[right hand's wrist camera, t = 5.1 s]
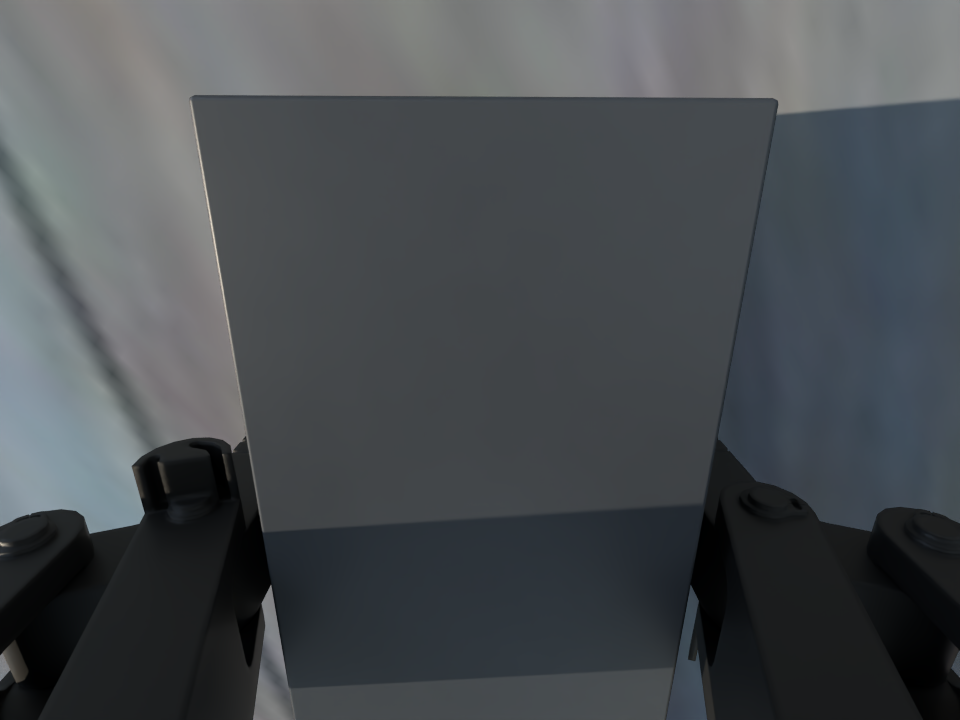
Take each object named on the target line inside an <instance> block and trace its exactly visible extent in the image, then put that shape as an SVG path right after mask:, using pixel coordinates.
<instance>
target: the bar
mask: <svg viewBox="0 0 960 720" xmlns="http://www.w3.org/2000/svg"><path fill="white" fill-rule="evenodd" d="M189 103H190V109H191V115H192V121H193V127H194V132H195V138H196V144H197V150H198V156H199V162H200V168H201V174H202V180H203V185H204V191H205V197H206V203H207V209H208V215H209V221H210V227H211V232H212V238H213V244H214V250H215V256H216V262H217V268H218V274H219V280H220V285H221V291H222V297H223V303H224V309H225V315H226V321H227V327H228V332H229V338H230V344H231V350H232V356H233V362H234V368H235V374H236V380H237V385H238V391H239V397H240V403H241V409H242V415H243V421H244V427H245V432H246V438H247V444H248V450H249V456H250V462H251V468H252V474H253V480H254V485H255V491H256V497H257V503H258V509H259V515H260V521H261V527H262V533H263V538H264V544H265V550H266V556H267V562H268V568H269V574H270V580H271V585H272V591H273V597H274V603H275V609H276V615H277V621H278V627H279V633H280V638H281V644H282V650H283V656H284V662H285V668H286V674H287V680H288V685H289V691H290V697H291V703H292V709H293V715H294V720H666V716H667V711H668V705H669V700H670V694H671V689H672V683H673V678H674V672H675V667H676V661H677V656H678V650H679V645H680V639H681V634H682V628H683V623H684V618H685V612H686V607H687V601H688V596H689V590H690V585H691V579H692V574H693V568H694V563H695V557H696V552H697V546H698V541H699V535H700V530H701V524H702V519H703V514H704V508H705V503H706V497H707V492H708V486H709V481H710V475H711V470H712V464H713V459H714V453H715V448H716V442H717V437H718V431H719V426H720V420H721V415H722V410H723V404H724V399H725V393H726V388H727V382H728V377H729V371H730V366H731V360H732V355H733V349H734V344H735V338H736V333H737V327H738V322H739V316H740V311H741V306H742V300H743V295H744V289H745V284H746V278H747V273H748V267H749V262H750V256H751V251H752V245H753V240H754V234H755V229H756V223H757V218H758V212H759V207H760V202H761V196H762V191H763V185H764V180H765V174H766V169H767V163H768V158H769V152H770V147H771V141H772V136H773V130H774V125H775V119H776V114H777V108H778V101H777V100H775V99H773V98H627V97H437V96H247V95H194V96H192V97H190V100H189Z"/></svg>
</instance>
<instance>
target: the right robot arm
mask: <svg viewBox="0 0 960 720" xmlns="http://www.w3.org/2000/svg"><path fill="white" fill-rule="evenodd" d="M132 469H133V472H134V476H135V480H136V483H137V487H138V490H139V494H140V497H141V501H142V505H143V508H144V512H145V515H144V516H143V518H142V520H141V522H140V524H137V525H133V526H128V527H123V528H118V529H112V530H107V531H102V532H97V533H92V534H89V531H88V528H87V525H86V522H85V519H84V517H83V516H82V515H81V514H79V513H78V512H76V511H71V510H62V509H60V510H52V511H41V512H37V513H32V514H31V515H29V514H28V515H25V516H22V517H19V518H17V519H15V520H13V521H12V522H10V523H7V524H5V525H3V526H1V527H0V655H1V654H2V653H3V655H4V657H5V659H6V661H7V664H8V666H9V668H10V671H9V672H8V673H7V675H6V676H5V677H4V678H3V679H2V680H1V681H0V720H253V715H254V707H255V700H256V692H257V684H258V677H259V669H260V661H261V654H262V646H263V639H264V631H265V621H264V614H263V609H262V604H261V603H262V601H263V599H264V597H265V595H266V593H267V591H268V589H269V587H270V585H271V580H270V574H269V568H268V562H267V556H266V550H265V544H264V538H263V533H262V527H261V521H260V515H259V509H258V503H257V497H256V491H255V485H254V480H253V474H252V468H251V462H250V456H249V450H248V444H247V438H246V436H245V438H244V439H243V442H240V443H239V444H238V446H237V447H236V448H235V449H234V450H233V453H232V452H231V447H230V445H229V444H228V443H226V442H225V441H223V440H220V439H215V438H191V439H186V440H181V441H176V442H173V443H170V444H167V445H164V446H161V447H159V448H156V449H154V450H153V451H151V452H149V453H147V454H145V455H144V456H142V457H141V458H140V459H139V460H138V461H137V462H136V463H135V464H134V465H132ZM691 586H692V588H693V590H694V592H695V594H696V596H697V598H698V600H699V604H698V609H697V614H696V619H695V624H694V629H693V634H692V639H691V644H690V650H689V657H688V660H692V661H695V660H696V655H697V650H698V653H699V660H700V668H701V675H702V683H703V691H704V698H705V706H706V713H707V720H960V678H959V677H958V675H957V674H956V673H955V672H954V671H953V670H952V669H951V667H952V665H953V662H954V660H955V658H956V656H957V654H958V651H959V650H960V523H957V522H955V521H953V520H950V519H949V518H947V517H946V516H943V515H941V514H937V513H934V512H933V513H930V511H927V510H922V509H912V508H904V507H896V508H887V509H884V510H883V511H881V512H880V513H879V514H877V517H876V520H875V523H874V526H873V529H872V532H870V531H865V530H860V529H855V528H850V527H845V526H839V525H834V524H829V523H825V522H821V521H819V519H818V517H817V516H816V514H815V512H814V511H813V510H812V509H811V507H810V506H809V505H808V504H807V503H806V502H805V501H803V500H802V499H800V498H799V497H797V496H796V495H794V494H793V493H791V492H789V491H786V490H784V489H781V488H779V487H777V486H774V485H769V484H765V483H761V482H756V481H755V479H754V478H753V477H752V476H751V475H750V474H749V473H748V472H747V470H746V469H745V468H744V467H743V466H742V465H741V464H740V462H739V461H738V460H737V459H736V458H735V457H734V456H733V454H732V453H731V452H730V451H727V448H726V446H725V445H724V444H723V443H722V442H721V441H720V440H718V437H717V442H716V448H715V453H714V459H713V464H712V470H711V475H710V481H709V486H708V492H707V497H706V503H705V508H704V514H703V519H702V524H701V530H700V535H699V541H698V546H697V552H696V557H695V563H694V568H693V574H692V579H691Z"/></svg>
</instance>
